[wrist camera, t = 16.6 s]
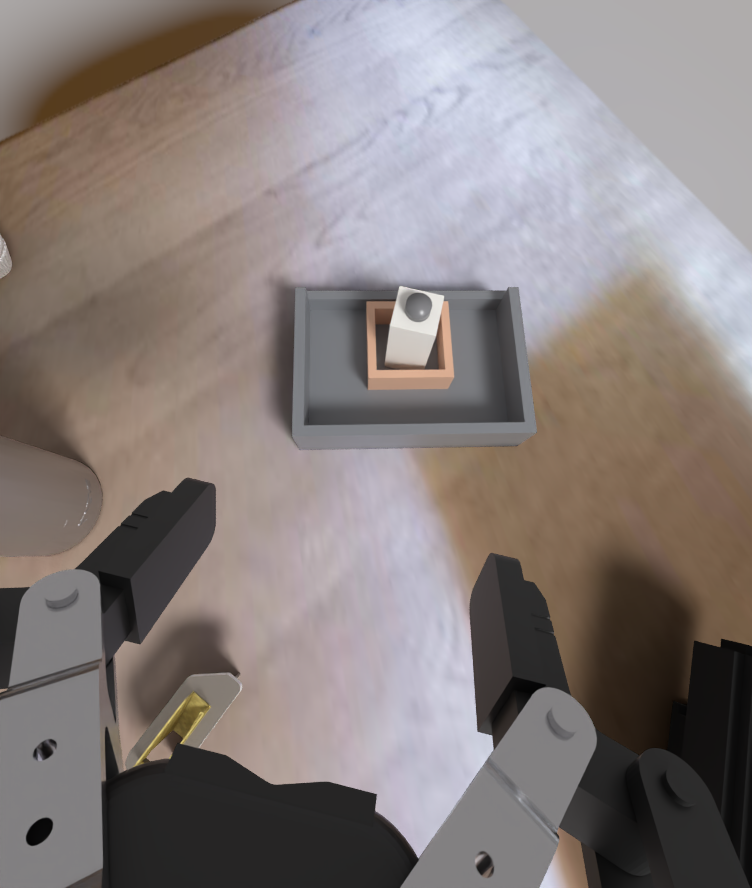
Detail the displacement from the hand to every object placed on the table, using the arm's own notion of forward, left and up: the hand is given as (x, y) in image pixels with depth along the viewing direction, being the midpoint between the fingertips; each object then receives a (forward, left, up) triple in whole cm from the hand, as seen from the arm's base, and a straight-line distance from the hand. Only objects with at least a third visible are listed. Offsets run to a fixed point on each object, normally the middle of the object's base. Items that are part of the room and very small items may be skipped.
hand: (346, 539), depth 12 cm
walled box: (+6, +18, -29) cm, 34 cm away
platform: (-13, -13, -29) cm, 35 cm away
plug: (+6, +20, -28) cm, 34 cm away
